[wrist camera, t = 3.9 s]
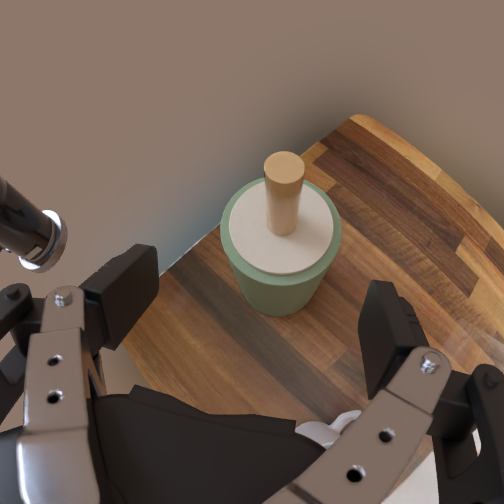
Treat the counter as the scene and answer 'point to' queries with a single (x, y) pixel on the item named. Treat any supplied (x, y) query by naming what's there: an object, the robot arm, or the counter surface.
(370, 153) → the counter surface
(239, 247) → the lid
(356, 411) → the mug
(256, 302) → the cylinder
